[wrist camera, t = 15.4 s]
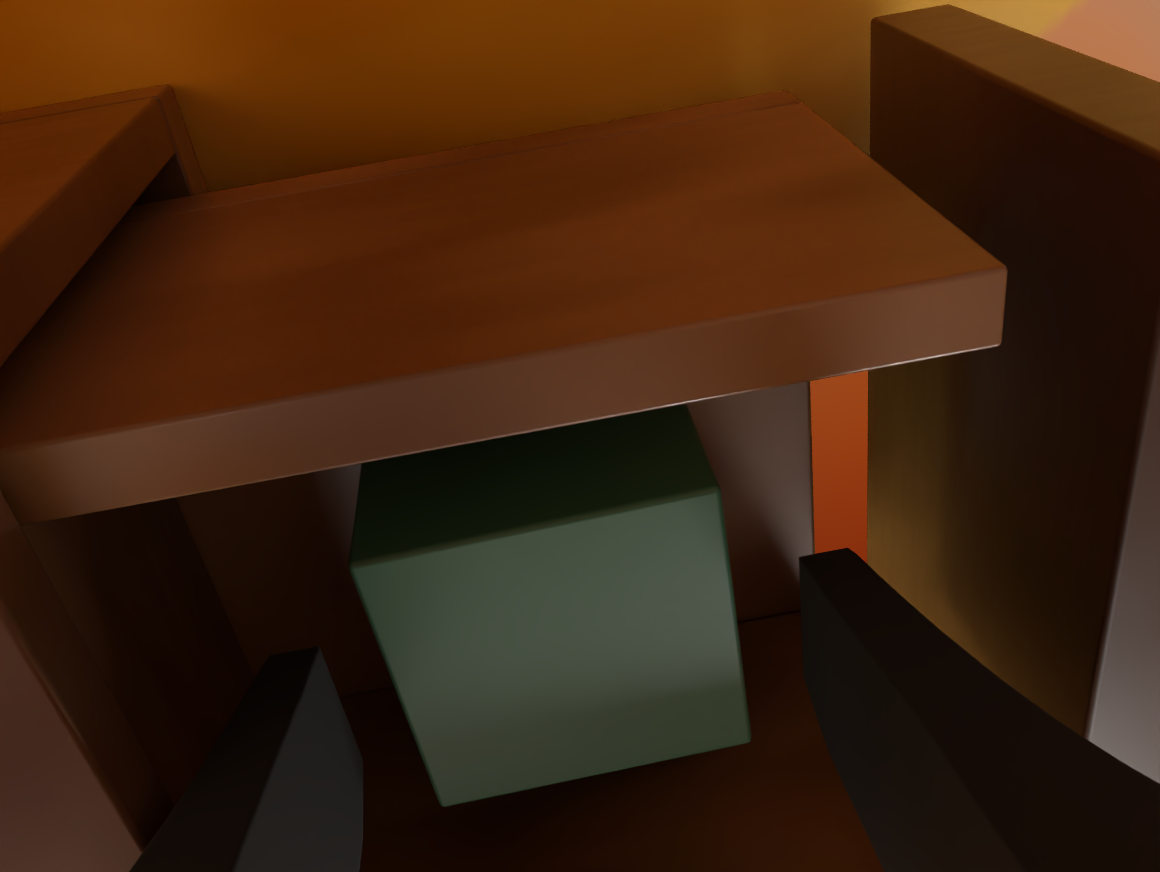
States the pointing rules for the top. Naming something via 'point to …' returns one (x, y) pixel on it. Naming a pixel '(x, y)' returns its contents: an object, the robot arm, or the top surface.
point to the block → (554, 602)
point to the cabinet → (3, 553)
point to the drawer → (630, 385)
